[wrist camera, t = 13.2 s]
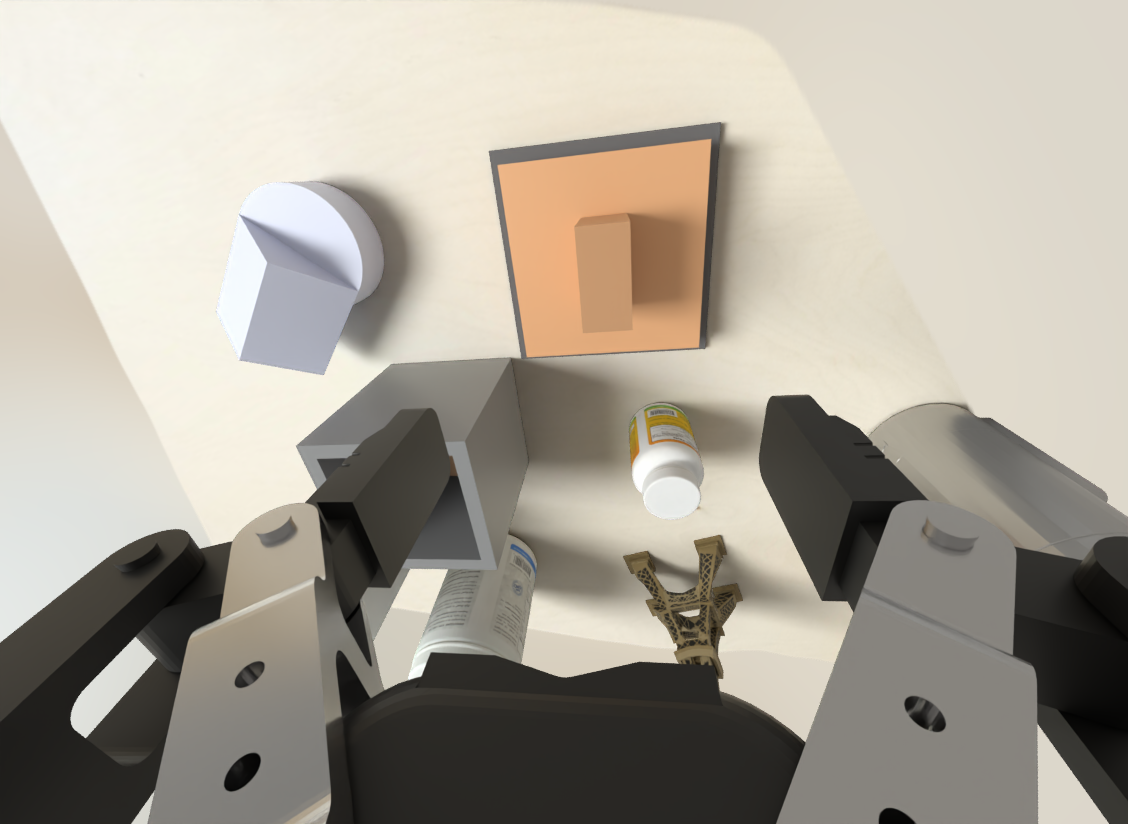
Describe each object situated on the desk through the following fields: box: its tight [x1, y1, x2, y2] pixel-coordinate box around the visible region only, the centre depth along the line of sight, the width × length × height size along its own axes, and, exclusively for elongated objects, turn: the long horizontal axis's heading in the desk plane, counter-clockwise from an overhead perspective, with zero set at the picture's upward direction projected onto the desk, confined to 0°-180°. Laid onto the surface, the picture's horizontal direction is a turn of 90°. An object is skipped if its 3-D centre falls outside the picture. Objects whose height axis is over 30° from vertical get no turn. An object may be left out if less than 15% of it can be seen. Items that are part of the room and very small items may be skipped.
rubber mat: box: [489, 122, 721, 359], centre depth 31 cm, size 15×15×1 cm
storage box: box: [296, 358, 529, 570], centre depth 34 cm, size 11×11×13 cm
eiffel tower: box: [623, 535, 743, 691], centre depth 36 cm, size 11×11×25 cm
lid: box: [498, 139, 711, 357], centre depth 27 cm, size 13×13×8 cm
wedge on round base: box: [216, 182, 384, 375], centre depth 31 cm, size 9×7×13 cm
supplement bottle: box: [629, 403, 704, 520], centre depth 34 cm, size 5×5×10 cm
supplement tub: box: [408, 534, 537, 680], centre depth 42 cm, size 10×10×15 cm
